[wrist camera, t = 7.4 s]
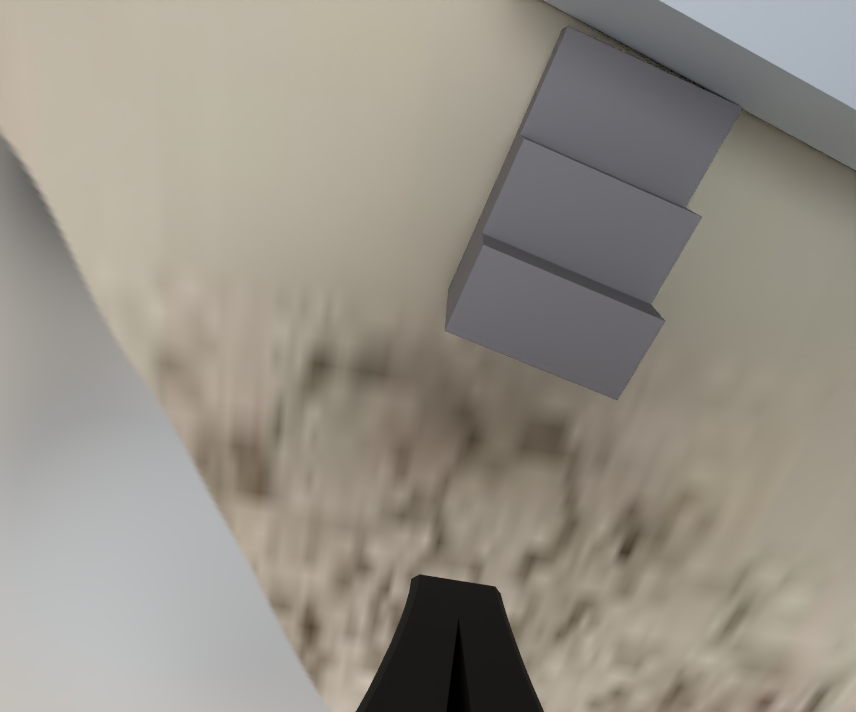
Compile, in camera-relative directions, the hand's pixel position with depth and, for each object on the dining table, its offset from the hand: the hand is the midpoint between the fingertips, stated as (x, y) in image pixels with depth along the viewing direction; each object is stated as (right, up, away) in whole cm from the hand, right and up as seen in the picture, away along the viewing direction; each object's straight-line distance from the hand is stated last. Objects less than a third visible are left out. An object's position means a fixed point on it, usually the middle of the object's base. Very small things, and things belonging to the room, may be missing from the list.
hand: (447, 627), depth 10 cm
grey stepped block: (+4, +8, +7) cm, 11 cm away
